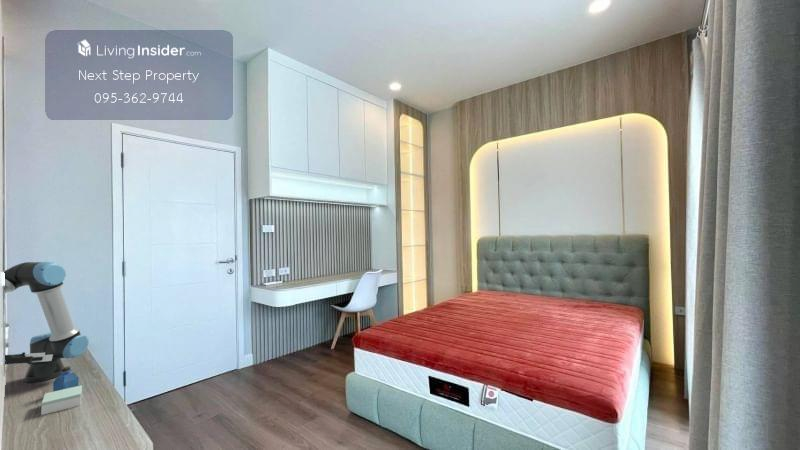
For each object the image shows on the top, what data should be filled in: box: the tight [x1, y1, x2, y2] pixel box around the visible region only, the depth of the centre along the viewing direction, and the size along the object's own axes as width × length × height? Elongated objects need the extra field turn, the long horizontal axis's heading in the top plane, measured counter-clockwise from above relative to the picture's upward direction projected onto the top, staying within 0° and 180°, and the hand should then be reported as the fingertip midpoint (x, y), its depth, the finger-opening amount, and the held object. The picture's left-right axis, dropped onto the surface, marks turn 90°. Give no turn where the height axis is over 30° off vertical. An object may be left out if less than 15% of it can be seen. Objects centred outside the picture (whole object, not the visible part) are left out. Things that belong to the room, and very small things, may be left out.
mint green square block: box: [40, 384, 83, 416], centre depth 150 cm, size 12×12×5 cm
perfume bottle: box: [52, 366, 79, 392], centre depth 162 cm, size 6×6×12 cm
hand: (48, 356), depth 159 cm, fingers open, 13 cm apart
